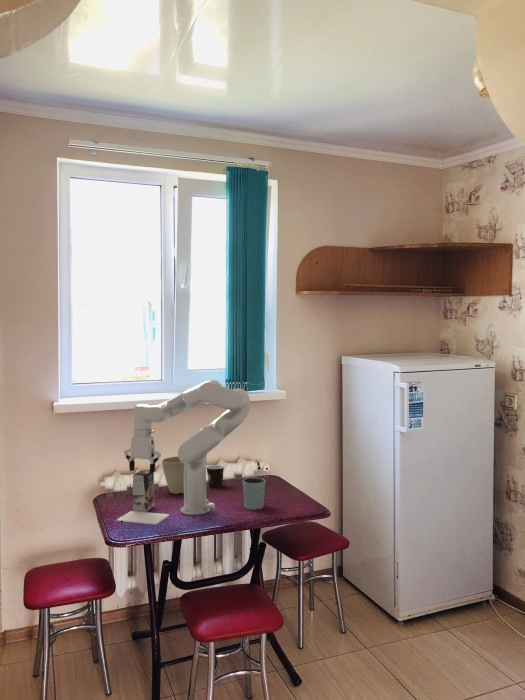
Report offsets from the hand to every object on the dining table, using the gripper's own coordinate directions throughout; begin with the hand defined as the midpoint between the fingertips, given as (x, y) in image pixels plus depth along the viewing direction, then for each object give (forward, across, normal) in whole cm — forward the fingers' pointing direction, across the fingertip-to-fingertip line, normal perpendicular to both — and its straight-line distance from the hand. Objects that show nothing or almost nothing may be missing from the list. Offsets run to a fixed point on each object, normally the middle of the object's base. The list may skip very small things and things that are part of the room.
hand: (142, 471), depth 252 cm
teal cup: (+16, -47, -15) cm, 52 cm away
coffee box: (+17, -1, 0) cm, 17 cm away
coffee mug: (+16, -19, -41) cm, 48 cm away
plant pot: (+16, -4, -29) cm, 34 cm away
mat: (+16, -7, +12) cm, 21 cm away
